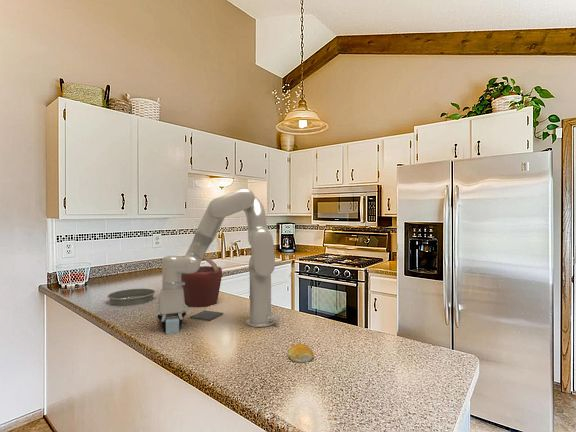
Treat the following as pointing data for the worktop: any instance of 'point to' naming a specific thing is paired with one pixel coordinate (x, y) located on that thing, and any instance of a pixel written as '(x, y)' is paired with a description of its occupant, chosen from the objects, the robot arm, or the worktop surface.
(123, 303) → the cake pan
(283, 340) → the worktop surface
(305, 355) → the bread roll
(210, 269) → the bucket
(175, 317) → the block
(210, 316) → the mat
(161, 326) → the shelf bay
